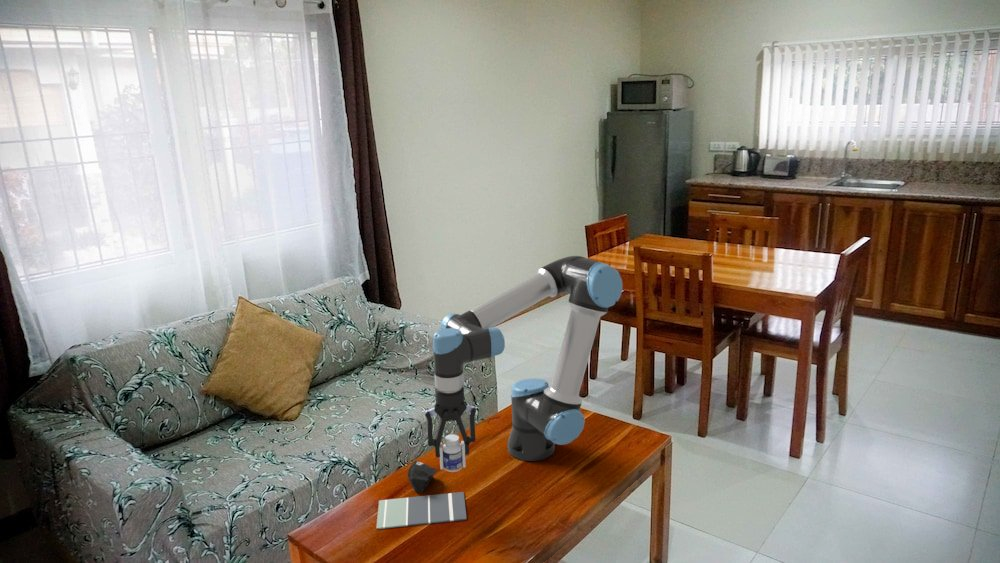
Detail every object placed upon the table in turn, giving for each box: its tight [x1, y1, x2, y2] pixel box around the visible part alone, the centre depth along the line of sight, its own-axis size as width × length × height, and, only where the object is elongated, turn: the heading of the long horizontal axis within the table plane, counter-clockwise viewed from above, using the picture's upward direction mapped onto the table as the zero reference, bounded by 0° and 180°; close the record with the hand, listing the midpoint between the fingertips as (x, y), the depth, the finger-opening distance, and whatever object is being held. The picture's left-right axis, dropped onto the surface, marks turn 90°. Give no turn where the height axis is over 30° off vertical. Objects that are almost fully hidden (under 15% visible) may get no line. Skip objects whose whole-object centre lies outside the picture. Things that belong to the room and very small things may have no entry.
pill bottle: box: [442, 434, 464, 473], centre depth 172 cm, size 5×5×9 cm
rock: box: [407, 460, 437, 494], centre depth 188 cm, size 10×9×6 cm
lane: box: [375, 491, 467, 530], centre depth 177 cm, size 24×12×1 cm, turn 97°
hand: (452, 465), depth 173 cm, fingers closed on pill bottle, 5 cm apart
